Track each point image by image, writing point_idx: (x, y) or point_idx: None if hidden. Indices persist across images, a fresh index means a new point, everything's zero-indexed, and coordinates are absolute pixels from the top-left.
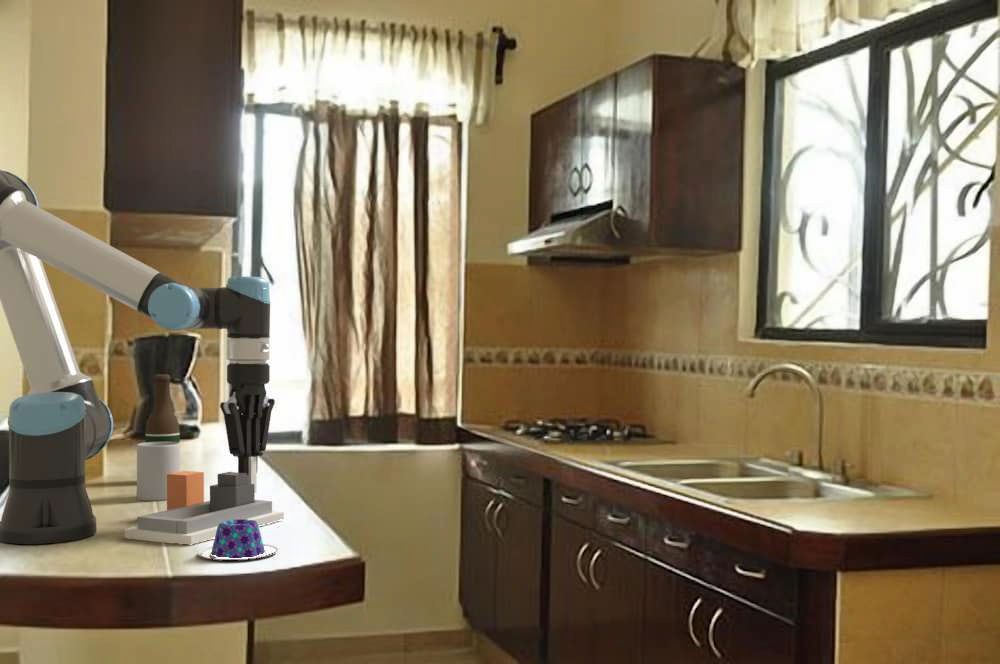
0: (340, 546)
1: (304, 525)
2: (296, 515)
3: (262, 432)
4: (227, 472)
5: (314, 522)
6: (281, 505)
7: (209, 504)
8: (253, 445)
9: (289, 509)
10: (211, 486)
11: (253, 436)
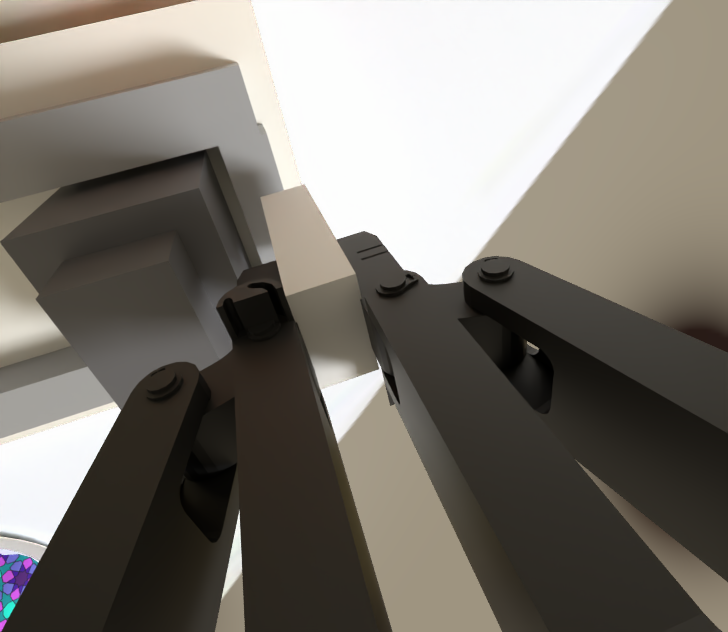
0: (223, 591)
1: (326, 405)
2: (430, 266)
3: (590, 459)
4: (145, 276)
5: (374, 387)
6: (580, 24)
7: (47, 189)
8: (403, 409)
9: (513, 144)
10: (11, 253)
11: (438, 479)
